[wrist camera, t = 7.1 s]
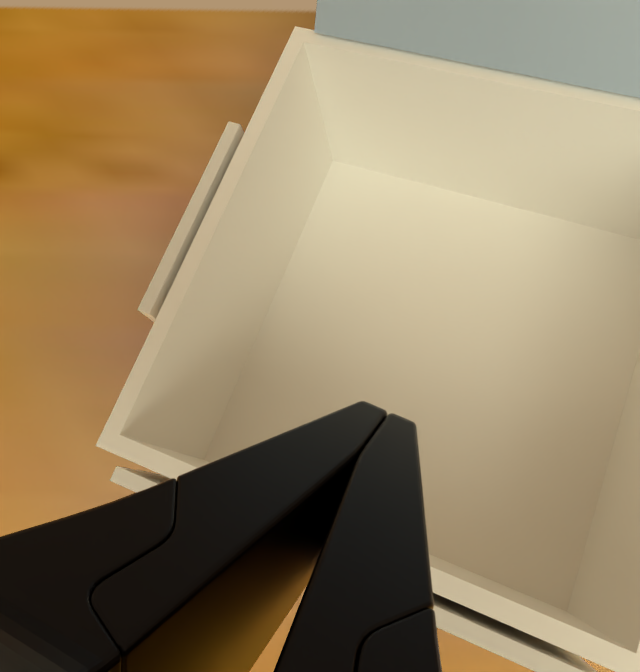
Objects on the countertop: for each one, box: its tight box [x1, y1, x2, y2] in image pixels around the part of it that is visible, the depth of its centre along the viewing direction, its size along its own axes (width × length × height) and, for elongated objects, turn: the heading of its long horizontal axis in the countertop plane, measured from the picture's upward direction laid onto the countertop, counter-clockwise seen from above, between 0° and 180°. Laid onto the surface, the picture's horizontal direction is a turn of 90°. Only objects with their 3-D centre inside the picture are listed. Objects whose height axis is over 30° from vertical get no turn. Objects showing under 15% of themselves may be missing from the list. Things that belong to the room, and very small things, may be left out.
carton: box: [96, 26, 640, 672], centre depth 19 cm, size 15×15×7 cm
